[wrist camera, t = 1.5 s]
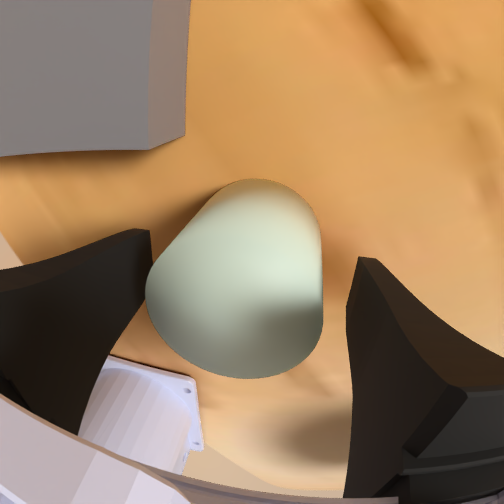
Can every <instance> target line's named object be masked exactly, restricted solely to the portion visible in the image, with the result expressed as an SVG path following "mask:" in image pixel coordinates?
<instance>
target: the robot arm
mask: <svg viewBox="0 0 504 504" xmlns="http://www.w3.org/2000/svg"><path fill="white" fill-rule="evenodd" d="M152 266H153V259H152V250H151V240H150V230H144V229H130V230H126V231H123V232H120V233H117V234H114V235H112V236H109V237H107V238H104V239H101V240H99V241H96V242H94V243H91V244H89V245H86V246H84V247H81V248H78V249H76V250H73V251H70V252H68V253H65V254H62V255H59V256H56V257H53V258H50V259H47V260H43V261H40V262H36V263H32V264H27V265H23V266H19V267H14V268H9V269H3V270H0V504H504V358H503V357H501V356H499V355H497V354H495V353H493V352H491V351H490V350H488V349H486V348H484V347H482V346H480V345H479V344H477V343H475V342H474V341H472V340H470V339H469V338H467V337H466V336H464V335H463V334H461V333H460V332H458V331H457V330H455V329H454V328H452V327H451V326H450V325H448V324H447V323H446V322H444V321H443V320H442V319H440V318H439V317H438V316H437V315H435V314H434V313H433V312H432V311H430V310H429V309H428V308H427V307H426V306H425V305H424V304H423V303H421V302H420V301H419V300H418V299H417V298H416V297H415V296H414V295H413V294H412V293H411V292H410V291H409V290H408V289H407V288H406V287H405V286H404V285H403V284H402V283H401V282H400V281H399V280H398V279H397V278H396V277H395V276H394V275H393V274H392V273H391V272H390V271H389V270H388V269H387V268H386V267H385V266H384V265H383V264H382V263H381V262H380V261H378V260H377V259H375V258H367V257H360V256H359V257H358V261H357V265H356V269H355V274H354V278H353V282H352V286H351V290H350V293H349V297H348V301H347V305H346V336H347V344H348V352H349V361H350V369H351V378H352V391H353V406H352V427H351V441H350V452H349V460H348V468H347V476H346V482H345V488H344V494H343V498H319V497H304V496H291V495H282V494H274V493H266V492H259V491H252V490H246V489H240V488H235V487H229V486H224V485H220V484H215V483H211V482H206V481H202V480H198V479H194V478H189V477H186V476H182V472H183V469H184V466H185V463H186V460H187V458H188V455H189V452H190V449H191V450H195V451H203V449H204V442H203V435H202V428H201V420H200V413H199V405H198V397H197V388H196V382H195V380H194V379H193V378H191V377H189V376H185V375H181V374H176V373H172V372H168V371H164V370H160V369H156V368H152V367H148V366H144V365H141V364H137V363H133V362H130V361H126V360H123V359H120V358H116V357H113V356H110V355H109V353H110V351H111V350H112V348H113V346H114V345H115V343H116V341H117V340H118V338H119V337H120V335H121V334H122V332H123V331H124V330H125V328H126V327H127V325H128V324H129V322H130V321H131V319H132V318H133V316H134V315H135V314H136V312H137V311H138V309H139V308H140V306H141V305H142V303H143V302H144V300H145V288H146V282H147V277H148V275H149V272H150V270H151V268H152Z"/></svg>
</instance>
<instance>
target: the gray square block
mask: <svg viewBox="0 0 504 504" xmlns="http://www.w3.org/2000/svg"><path fill="white" fill-rule="evenodd" d="M190 2H191V0H0V157H2V156H11V155H22V154H33V153H47V152H63V151H86V150H149V149H152V148H154V147H157V146H159V145H162V144H164V143H167V142H169V141H172V140H174V139H177V138H179V137H182V136H185V98H186V68H187V47H188V30H189V15H190Z"/></svg>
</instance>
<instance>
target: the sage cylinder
mask: <svg viewBox="0 0 504 504" xmlns="http://www.w3.org/2000/svg"><path fill="white" fill-rule="evenodd" d="M145 299H146V306H147V310H148V314H149V316H150V319H151V321H152V323H153V325H154V327H155V329H156V330H157V332H158V333H159V335H160V336H161V337H162V339H163V340H164V341H165V342H166V343H167V344H168V345H169V346H170V347H171V348H172V349H173V350H174V351H175V352H176V353H177V354H179V355H180V356H181V357H183V358H184V359H186V360H187V361H189V362H190V363H192V364H194V365H196V366H198V367H200V368H202V369H204V370H207V371H209V372H212V373H215V374H218V375H222V376H227V377H233V378H242V379H255V378H264V377H270V376H274V375H278V374H280V373H283V372H286V371H288V370H290V369H292V368H293V367H295V366H297V365H298V364H299V363H301V362H302V361H303V360H304V359H305V358H307V357H308V356H309V354H310V353H311V352H312V351H313V349H314V348H315V346H316V344H317V343H318V341H319V338H320V335H321V332H322V327H323V279H322V249H321V232H320V227H319V223H318V220H317V218H316V216H315V214H314V212H313V210H312V208H311V207H310V206H309V204H308V203H307V202H306V201H305V200H304V199H303V198H302V197H301V196H300V195H299V194H298V193H296V192H295V191H294V190H292V189H290V188H289V187H287V186H285V185H283V184H280V183H278V182H274V181H271V180H265V179H245V180H241V181H237V182H234V183H231V184H229V185H227V186H225V187H223V188H222V189H220V190H219V191H218V192H216V193H215V194H214V195H213V196H212V197H211V198H210V199H209V200H208V202H207V203H206V204H205V205H204V206H203V207H202V208H201V209H200V210H199V212H198V213H197V214H196V215H195V216H194V217H193V218H192V219H191V221H190V222H189V223H188V224H187V225H186V226H185V227H184V229H183V230H182V231H181V232H180V233H179V234H178V235H177V237H176V238H175V239H174V240H173V241H172V242H171V244H170V245H169V246H168V247H167V248H166V249H165V251H164V252H163V253H162V254H161V255H160V256H159V258H158V259H157V260H156V261H155V263H154V265H153V266H152V268H151V270H150V272H149V275H148V277H147V282H146V288H145Z"/></svg>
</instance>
